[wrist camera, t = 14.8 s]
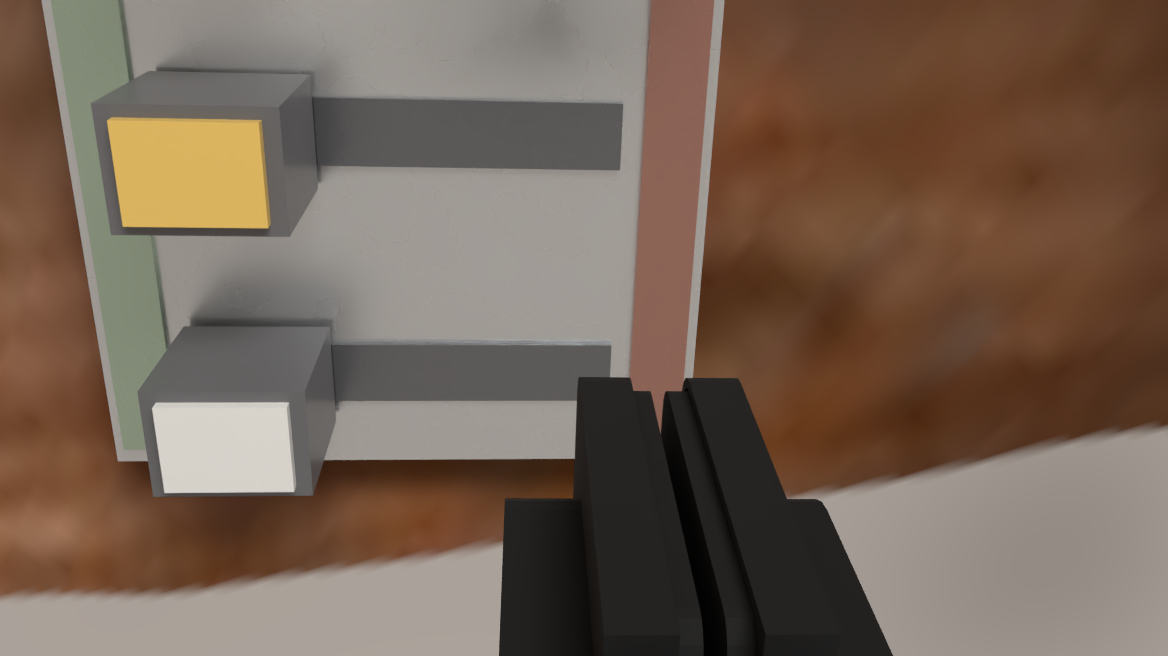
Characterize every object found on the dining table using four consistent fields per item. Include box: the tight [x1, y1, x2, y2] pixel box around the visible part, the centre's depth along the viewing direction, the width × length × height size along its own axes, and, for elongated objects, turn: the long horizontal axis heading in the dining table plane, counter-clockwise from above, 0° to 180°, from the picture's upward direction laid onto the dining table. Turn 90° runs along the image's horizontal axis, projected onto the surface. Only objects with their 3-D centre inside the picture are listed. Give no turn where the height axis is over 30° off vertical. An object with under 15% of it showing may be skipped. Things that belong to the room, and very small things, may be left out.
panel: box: [42, 0, 724, 461], centre depth 28 cm, size 20×17×2 cm
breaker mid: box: [91, 71, 318, 237], centre depth 25 cm, size 3×4×4 cm
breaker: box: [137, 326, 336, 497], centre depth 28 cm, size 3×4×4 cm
